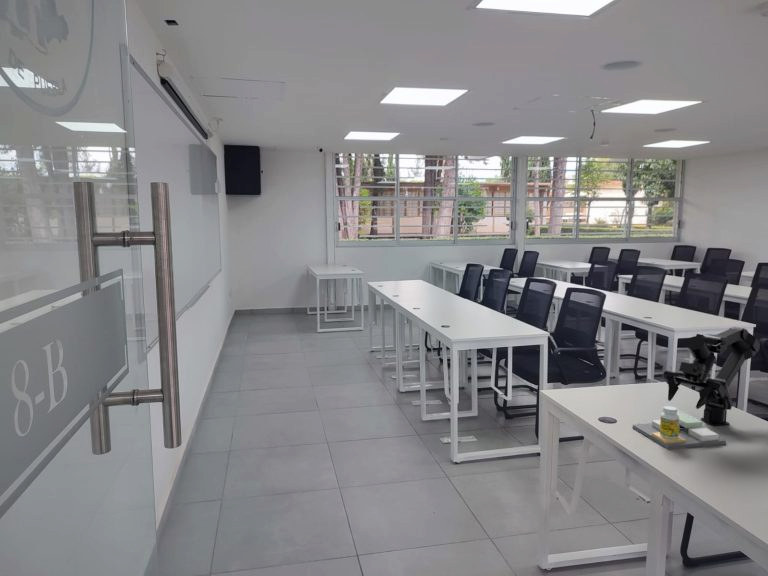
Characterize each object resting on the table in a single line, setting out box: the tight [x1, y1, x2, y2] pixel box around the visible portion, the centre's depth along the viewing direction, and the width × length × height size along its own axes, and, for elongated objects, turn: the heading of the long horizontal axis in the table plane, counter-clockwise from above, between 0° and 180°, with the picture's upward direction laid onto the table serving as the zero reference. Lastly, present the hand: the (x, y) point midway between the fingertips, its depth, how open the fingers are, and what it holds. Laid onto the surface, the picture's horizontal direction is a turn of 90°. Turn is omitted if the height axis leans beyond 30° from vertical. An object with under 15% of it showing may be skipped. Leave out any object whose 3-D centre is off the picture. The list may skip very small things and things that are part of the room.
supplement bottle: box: [660, 405, 679, 439], centre depth 172 cm, size 5×5×10 cm
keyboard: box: [632, 419, 727, 450], centre depth 178 cm, size 21×18×3 cm
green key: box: [661, 409, 704, 428], centre depth 183 cm, size 6×12×3 cm, turn 9°
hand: (682, 404), depth 175 cm, fingers open, 9 cm apart
